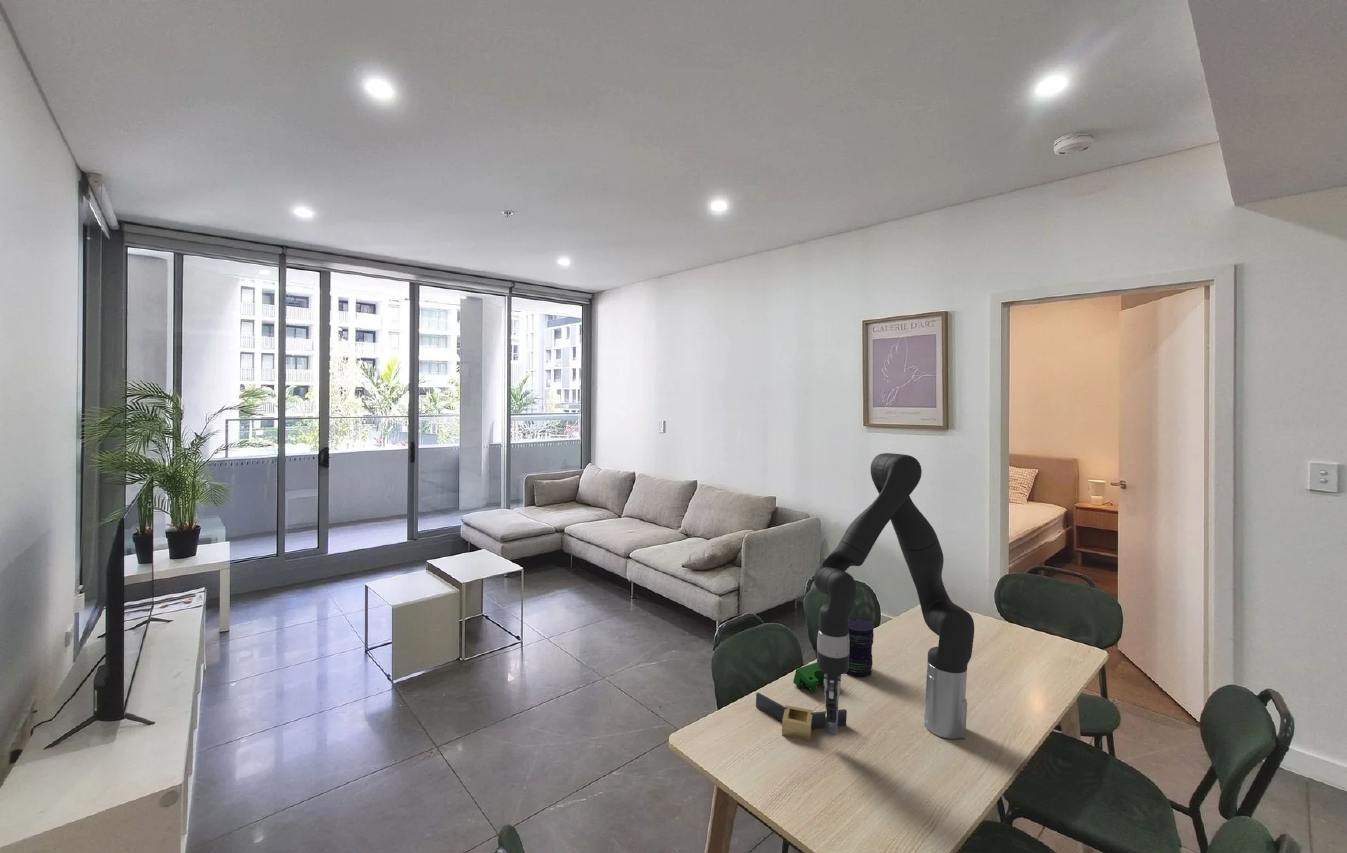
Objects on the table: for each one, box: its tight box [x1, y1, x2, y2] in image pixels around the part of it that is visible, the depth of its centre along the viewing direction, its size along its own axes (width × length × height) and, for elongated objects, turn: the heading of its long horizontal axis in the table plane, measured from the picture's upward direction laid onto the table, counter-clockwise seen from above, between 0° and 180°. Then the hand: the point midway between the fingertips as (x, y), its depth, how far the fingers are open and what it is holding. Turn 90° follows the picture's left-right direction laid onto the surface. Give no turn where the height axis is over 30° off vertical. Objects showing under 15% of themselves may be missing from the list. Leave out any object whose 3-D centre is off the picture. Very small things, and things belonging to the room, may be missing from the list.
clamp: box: [793, 661, 825, 694], centre depth 163 cm, size 12×6×9 cm, turn 113°
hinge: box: [755, 692, 848, 742], centre depth 143 cm, size 24×11×4 cm, turn 72°
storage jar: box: [844, 616, 875, 679], centre depth 173 cm, size 10×10×15 cm
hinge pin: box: [824, 699, 839, 736], centre depth 135 cm, size 3×3×10 cm
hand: (831, 716), depth 135 cm, fingers closed on hinge pin, 3 cm apart
